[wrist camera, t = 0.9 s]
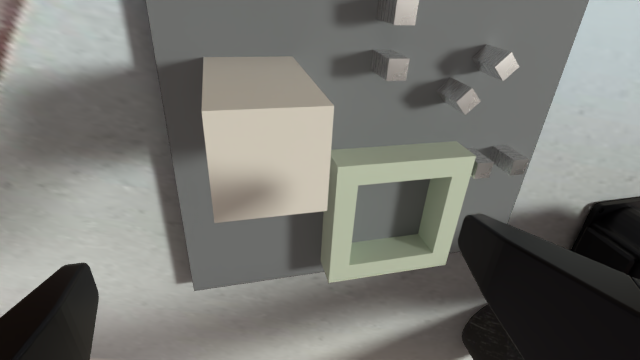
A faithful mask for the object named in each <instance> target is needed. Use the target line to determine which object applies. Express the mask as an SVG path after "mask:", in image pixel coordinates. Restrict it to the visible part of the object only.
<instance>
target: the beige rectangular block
mask: <svg viewBox="0 0 640 360" xmlns="http://www.w3.org/2000/svg"><path fill="white" fill-rule="evenodd" d="M333 116H334V105H333V104H332V103H331V102H330V100H329V99H328V98H327V97H326V96H325V94H324V93H323V92H322V91H321V90H320V88H319V87H318V86H317V85H316V84H315V83H314V81H313V80H312V79H311V78H310V77H309V75H308V74H307V73H306V72H305V71H304V70H303V68H302V67H301V66H300V65H299V64H298V62H297V61H296V60H295V59H294V58H293V57H292V56H281V57H203V84H202V120H203V129H204V137H205V146H206V155H207V163H208V172H209V181H210V189H211V198H212V207H213V215H214V223H220V222H229V221H238V220H247V219H256V218H266V217H275V216H284V215H293V214H302V213H312V212H321V211H327V204H328V190H329V175H330V160H331V146H332V131H333Z"/></svg>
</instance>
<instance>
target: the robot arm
mask: <svg viewBox="0 0 640 360" xmlns="http://www.w3.org/2000/svg"><path fill="white" fill-rule="evenodd" d="M458 246H459V249H460V251H461V253H462V255H463V257H464V259H465V261H466V263H467V265H468V267H469V269H470V271H471V273H472V275H473V277H474V279H475V281H476V282H477V284H478V286H479V288H480V290H481V292H482V294H483V296H484V298H485V299H486V301H487V302H488V304H489V306H490V307H491V309H492V310H493V312H494V314H495V315H496V317H497V318H498V320H499V321H500V323H501V324H502V326H503V328H504V329H505V331H506V332H507V334H508V335H509V337H510V339H511V340H512V342H513V343H514V345H515V346H516V348H517V349H518V351H519V353H520V354H521V356H522V357H523V359H524V360H640V198H634V199H626V200H618V201H610V202H602V203H597V204H596V205H595V206H594V207H593V208H592V210H591V212H590V214H589V216H588V218H587V220H586V222H585V224H584V226H583V228H582V230H581V232H580V234H579V236H578V238H577V240H576V243H575V245H574V247H573V249H572V251H570V250H567V249H565V248H562V247H560V246H558V245H555V244H553V243H551V242H548V241H546V240H544V239H541V238H539V237H536V236H534V235H532V234H529V233H527V232H525V231H522V230H520V229H517V228H515V227H513V226H510V225H508V224H506V223H503V222H501V221H499V220H496V219H494V218H491V217H489V216H487V215H484V214H481V213H477V214H469V215H467V216H465V218H464V219H463V223H462V226H461V230H460V233H459V237H458ZM98 299H99V296H98V290H97V287H96V284H95V281H94V278H93V275H92V273H91V270H90V267H89V266H88V264H86V263H76V264H68V265H64V266H63V267H61V268H60V269H59V270H57V271H56V272H55V273H54V274H53V275H51V276H50V277H49V278H48V279H47V280H45V281H44V282H43V283H42V284H41V285H39V286H38V287H37V288H36V289H34V290H33V291H32V292H31V293H30V294H28V295H27V296H26V297H25V298H24V299H22V300H21V301H20V302H19V303H18V304H16V305H15V306H14V307H13V308H11V309H10V310H9V311H8V312H7V313H5V314H4V315H3V316H2V317H1V318H0V360H90V354H91V348H92V341H93V334H94V327H95V321H96V314H97V307H98Z"/></svg>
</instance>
